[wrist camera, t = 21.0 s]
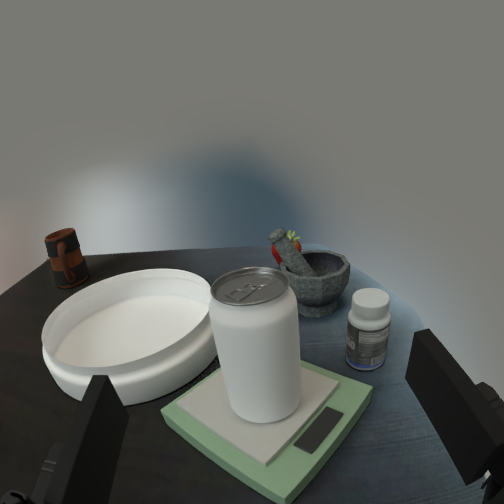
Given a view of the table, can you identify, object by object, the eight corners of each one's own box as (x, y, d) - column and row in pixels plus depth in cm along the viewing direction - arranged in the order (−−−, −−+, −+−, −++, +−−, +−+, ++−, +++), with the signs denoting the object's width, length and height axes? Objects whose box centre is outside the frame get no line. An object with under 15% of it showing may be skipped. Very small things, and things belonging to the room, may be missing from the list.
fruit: (298, 278, 55) (295, 235, 52) (269, 277, 57) (265, 234, 54) (305, 266, 60) (302, 225, 57) (278, 265, 62) (274, 225, 59)
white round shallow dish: (128, 444, 26) (106, 409, 24) (27, 356, 39) (13, 327, 37) (261, 312, 47) (257, 279, 45) (140, 284, 60) (133, 259, 58)
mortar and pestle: (350, 291, 49) (350, 217, 45) (347, 325, 41) (349, 240, 36) (281, 289, 53) (274, 218, 48) (266, 321, 44) (257, 240, 40)
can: (316, 393, 27) (314, 276, 22) (267, 438, 23) (249, 319, 18) (264, 366, 31) (250, 258, 27) (216, 402, 27) (186, 289, 23)
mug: (56, 299, 57) (38, 247, 53) (58, 280, 67) (43, 234, 63) (92, 287, 61) (76, 235, 57) (89, 270, 71) (76, 224, 67)
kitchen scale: (370, 402, 28) (374, 381, 27) (285, 509, 19) (284, 495, 17) (256, 355, 38) (254, 335, 36) (166, 424, 28) (157, 405, 27)
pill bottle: (344, 346, 37) (347, 286, 34) (382, 345, 36) (389, 284, 33) (345, 372, 33) (349, 309, 30) (387, 371, 32) (396, 307, 28)
